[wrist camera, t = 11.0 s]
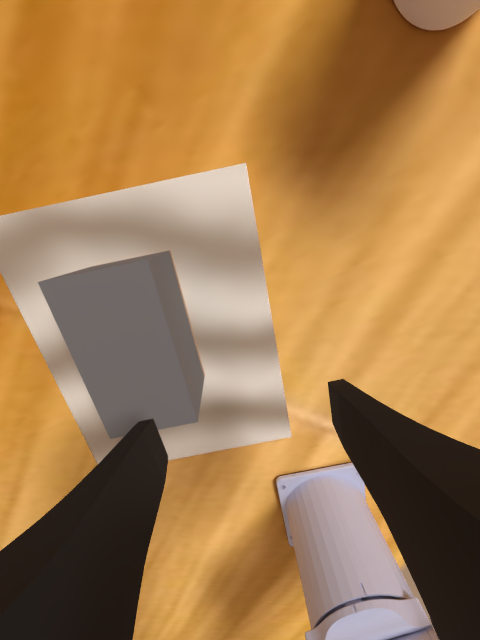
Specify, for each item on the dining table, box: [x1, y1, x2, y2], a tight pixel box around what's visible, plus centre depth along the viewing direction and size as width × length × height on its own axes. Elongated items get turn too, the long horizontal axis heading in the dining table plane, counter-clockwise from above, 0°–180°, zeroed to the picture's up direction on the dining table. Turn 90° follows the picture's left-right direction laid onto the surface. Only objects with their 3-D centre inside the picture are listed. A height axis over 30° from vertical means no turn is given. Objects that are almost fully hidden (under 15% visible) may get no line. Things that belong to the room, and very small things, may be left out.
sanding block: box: [38, 250, 205, 439], centre depth 15 cm, size 9×5×5 cm, turn 11°
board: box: [0, 163, 292, 464], centre depth 19 cm, size 20×16×1 cm
